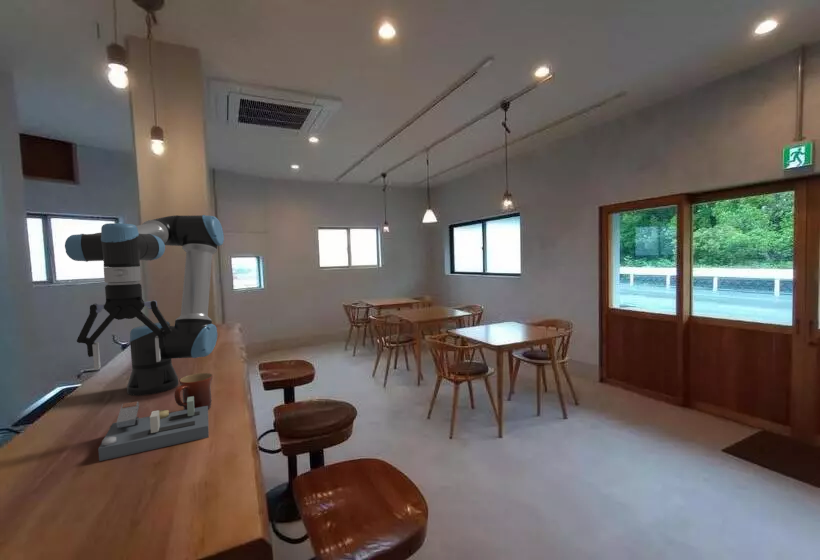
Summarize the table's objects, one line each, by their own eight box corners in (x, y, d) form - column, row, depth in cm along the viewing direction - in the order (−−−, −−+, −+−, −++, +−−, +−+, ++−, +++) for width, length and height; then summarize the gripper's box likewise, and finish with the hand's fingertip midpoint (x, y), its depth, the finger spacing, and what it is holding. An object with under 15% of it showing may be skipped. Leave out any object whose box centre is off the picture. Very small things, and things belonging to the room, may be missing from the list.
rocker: (122, 409, 98) (122, 403, 98) (138, 406, 100) (138, 400, 99) (117, 428, 92) (116, 421, 91) (134, 424, 93) (133, 418, 93)
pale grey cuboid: (152, 426, 94) (152, 411, 93) (160, 425, 94) (159, 410, 94) (150, 433, 90) (149, 417, 90) (158, 431, 91) (157, 415, 91)
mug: (196, 404, 117) (194, 372, 116) (220, 405, 115) (219, 373, 115) (164, 420, 105) (162, 385, 105) (190, 423, 103) (188, 387, 103)
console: (113, 434, 97) (112, 417, 97) (208, 415, 108) (207, 400, 108) (99, 461, 84) (97, 442, 84) (208, 437, 95) (207, 420, 95)
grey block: (188, 411, 103) (187, 397, 103) (194, 410, 104) (193, 396, 103) (187, 416, 99) (186, 402, 99) (194, 415, 100) (193, 400, 100)
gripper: (55, 287, 87) (62, 376, 88) (177, 281, 99) (182, 360, 100) (65, 285, 93) (72, 368, 95) (179, 280, 105) (183, 354, 107)
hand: (129, 364), depth 97 cm, fingers open, 12 cm apart
